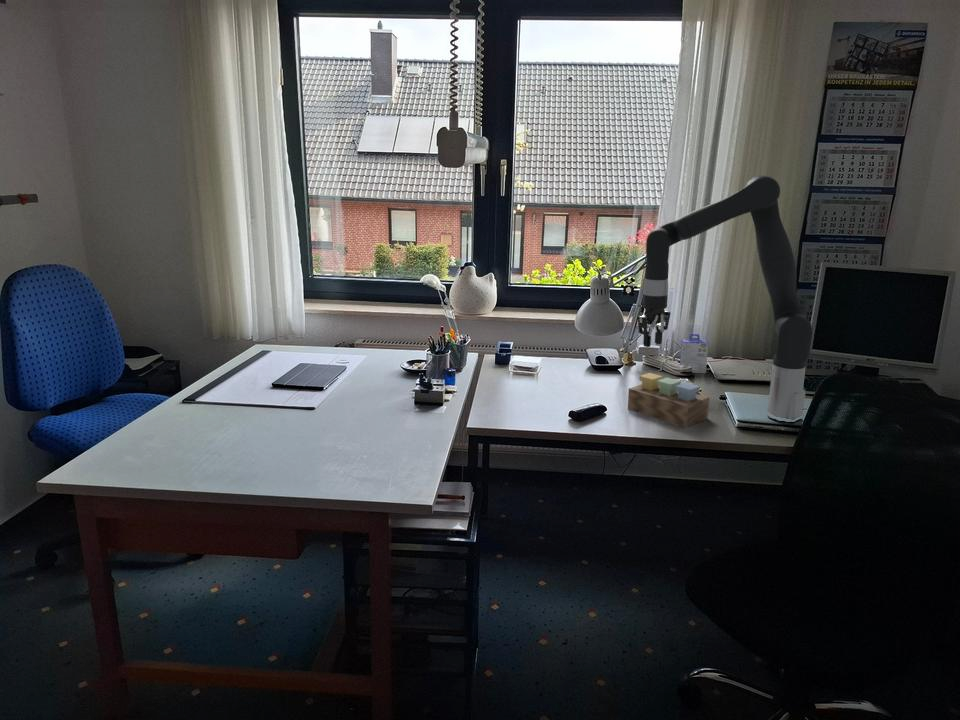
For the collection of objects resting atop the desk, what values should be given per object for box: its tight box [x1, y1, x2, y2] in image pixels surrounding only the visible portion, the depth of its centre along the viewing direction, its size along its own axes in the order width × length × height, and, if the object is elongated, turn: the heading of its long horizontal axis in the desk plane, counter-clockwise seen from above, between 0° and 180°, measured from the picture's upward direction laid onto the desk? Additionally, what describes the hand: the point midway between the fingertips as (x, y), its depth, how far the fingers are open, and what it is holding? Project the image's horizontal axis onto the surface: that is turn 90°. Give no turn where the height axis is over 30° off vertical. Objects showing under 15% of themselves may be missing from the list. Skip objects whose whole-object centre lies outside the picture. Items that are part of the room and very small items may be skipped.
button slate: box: [675, 382, 701, 402], centre depth 206 cm, size 5×5×7 cm
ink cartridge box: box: [679, 333, 709, 374], centre depth 255 cm, size 10×6×14 cm, turn 78°
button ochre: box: [638, 372, 663, 391], centre depth 216 cm, size 5×5×7 cm
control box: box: [627, 384, 710, 428], centre depth 212 cm, size 22×12×7 cm, turn 38°
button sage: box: [657, 377, 682, 396], centre depth 211 cm, size 5×5×7 cm
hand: (652, 344), depth 213 cm, fingers open, 5 cm apart
